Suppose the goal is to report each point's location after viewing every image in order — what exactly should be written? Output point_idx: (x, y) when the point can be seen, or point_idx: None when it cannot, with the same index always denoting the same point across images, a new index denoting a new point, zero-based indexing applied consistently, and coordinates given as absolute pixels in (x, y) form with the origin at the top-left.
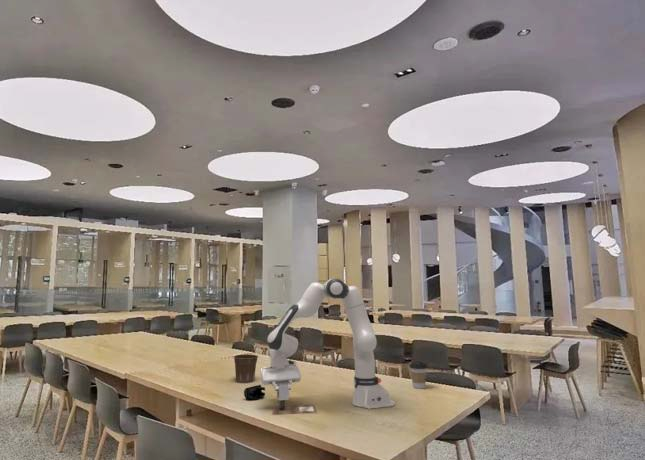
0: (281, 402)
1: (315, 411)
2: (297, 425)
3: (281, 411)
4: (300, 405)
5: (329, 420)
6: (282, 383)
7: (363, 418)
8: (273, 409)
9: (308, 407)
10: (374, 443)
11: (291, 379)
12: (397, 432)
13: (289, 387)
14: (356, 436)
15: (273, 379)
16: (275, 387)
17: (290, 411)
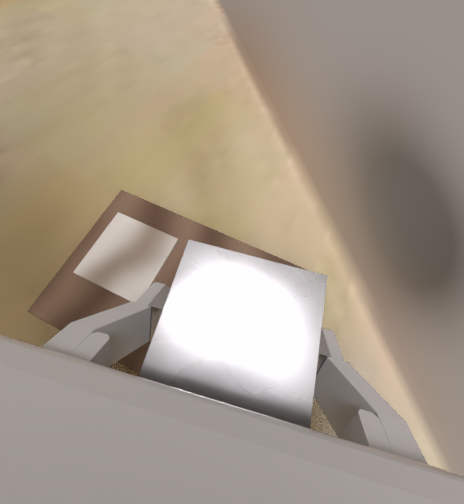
0: None
1: (114, 208)
2: (252, 156)
3: None
4: None
5: (126, 142)
6: (249, 324)
7: (21, 104)
8: None
9: (101, 270)
10: (155, 2)
11: (36, 348)
12: (58, 12)
13: (168, 287)
14: (158, 35)
15: (453, 496)
16: (339, 348)
17: None
